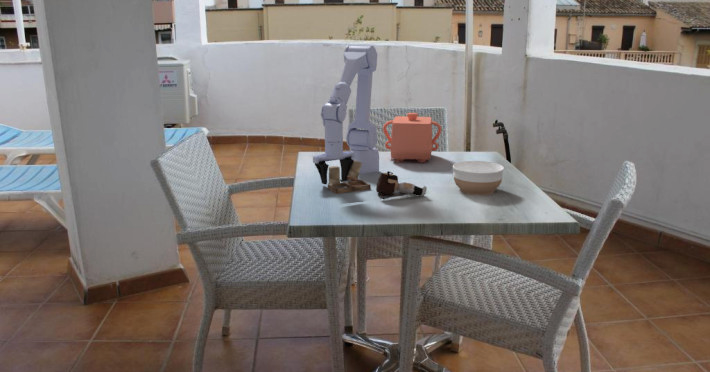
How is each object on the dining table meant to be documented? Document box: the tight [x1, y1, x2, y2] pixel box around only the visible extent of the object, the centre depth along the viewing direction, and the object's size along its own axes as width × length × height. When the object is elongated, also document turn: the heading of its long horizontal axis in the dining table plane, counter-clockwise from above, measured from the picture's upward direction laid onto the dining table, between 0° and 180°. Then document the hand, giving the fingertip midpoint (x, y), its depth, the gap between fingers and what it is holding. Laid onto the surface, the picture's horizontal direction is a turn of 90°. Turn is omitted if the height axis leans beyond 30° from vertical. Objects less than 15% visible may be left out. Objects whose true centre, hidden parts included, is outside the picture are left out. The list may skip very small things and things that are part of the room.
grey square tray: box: [340, 178, 361, 183], centre depth 199 cm, size 6×6×2 cm
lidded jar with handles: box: [382, 112, 443, 163], centre depth 237 cm, size 25×23×18 cm
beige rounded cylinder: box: [327, 165, 341, 185], centre depth 195 cm, size 4×4×6 cm
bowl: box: [452, 160, 505, 196], centre depth 191 cm, size 16×16×8 cm
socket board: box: [327, 179, 372, 195], centre depth 191 cm, size 12×6×2 cm, turn 116°
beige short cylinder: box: [347, 160, 362, 181], centre depth 198 cm, size 4×4×6 cm
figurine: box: [375, 170, 428, 200], centre depth 185 cm, size 9×8×15 cm
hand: (334, 181), depth 196 cm, fingers open, 7 cm apart
